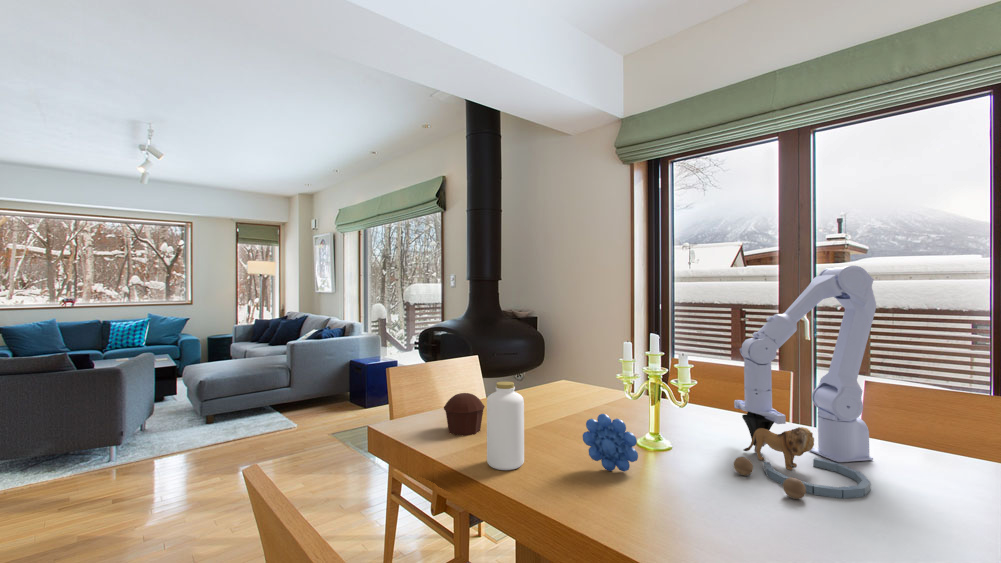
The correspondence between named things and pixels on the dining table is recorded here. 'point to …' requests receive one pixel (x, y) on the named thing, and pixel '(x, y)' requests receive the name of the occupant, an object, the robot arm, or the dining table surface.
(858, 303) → the robot arm
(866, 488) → the groove ring
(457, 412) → the muffin
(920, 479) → the dining table surface
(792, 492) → the walnut bead
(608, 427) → the blue flower
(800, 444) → the lion figurine
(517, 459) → the white bottle
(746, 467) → the walnut bead
